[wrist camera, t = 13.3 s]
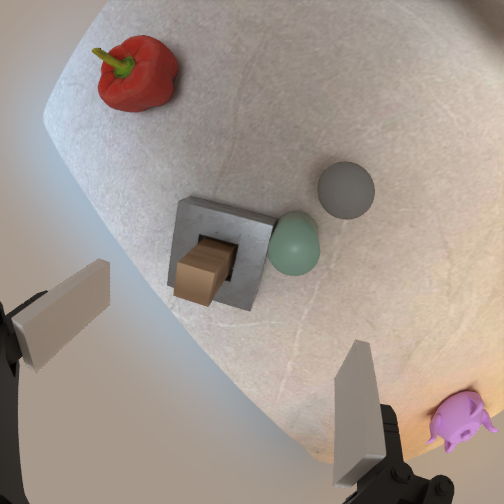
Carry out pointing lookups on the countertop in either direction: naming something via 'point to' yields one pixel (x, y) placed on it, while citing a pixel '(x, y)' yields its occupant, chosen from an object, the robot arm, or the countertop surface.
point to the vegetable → (137, 74)
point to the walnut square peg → (204, 270)
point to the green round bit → (294, 244)
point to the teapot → (459, 419)
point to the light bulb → (346, 190)
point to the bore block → (231, 230)
